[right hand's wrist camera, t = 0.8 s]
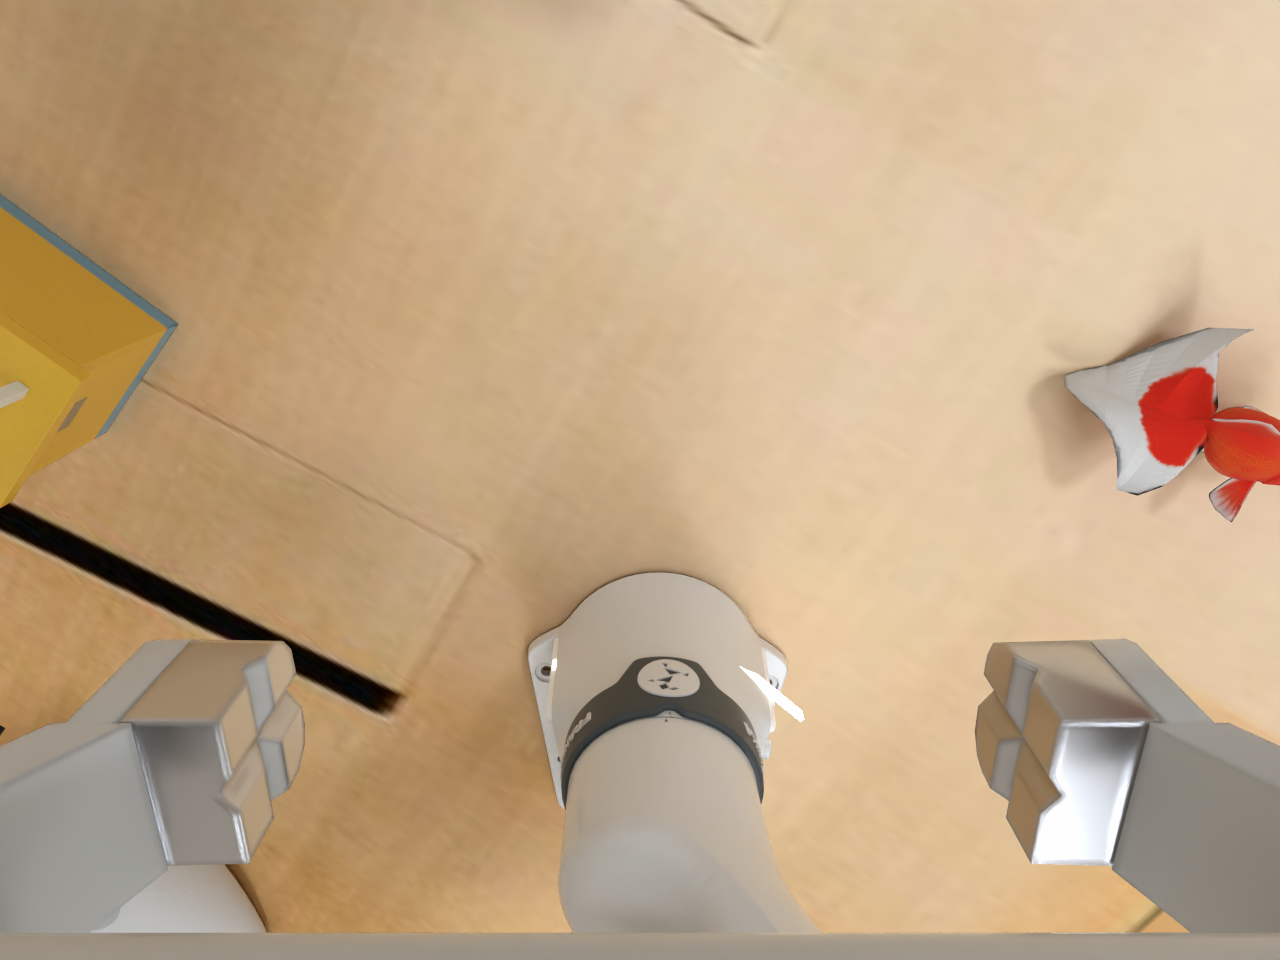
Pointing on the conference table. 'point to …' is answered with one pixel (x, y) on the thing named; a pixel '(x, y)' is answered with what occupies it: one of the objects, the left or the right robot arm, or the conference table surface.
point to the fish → (1180, 418)
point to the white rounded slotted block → (187, 905)
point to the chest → (77, 323)
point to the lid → (31, 401)
